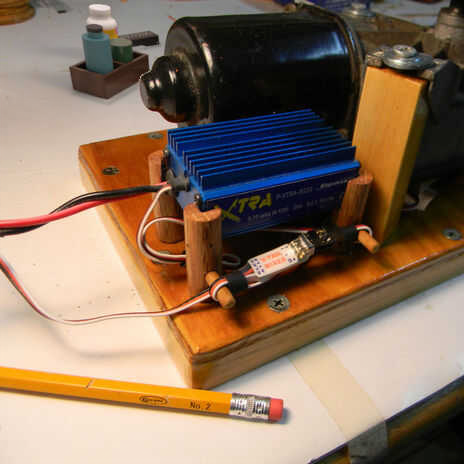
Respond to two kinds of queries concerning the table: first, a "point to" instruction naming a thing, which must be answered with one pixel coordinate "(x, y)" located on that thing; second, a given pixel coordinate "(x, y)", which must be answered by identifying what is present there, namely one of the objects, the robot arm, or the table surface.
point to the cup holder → (109, 76)
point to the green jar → (121, 50)
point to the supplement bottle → (103, 19)
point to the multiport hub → (142, 38)
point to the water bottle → (97, 50)
